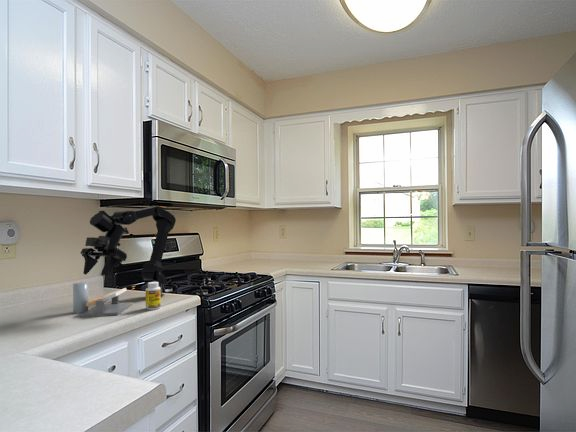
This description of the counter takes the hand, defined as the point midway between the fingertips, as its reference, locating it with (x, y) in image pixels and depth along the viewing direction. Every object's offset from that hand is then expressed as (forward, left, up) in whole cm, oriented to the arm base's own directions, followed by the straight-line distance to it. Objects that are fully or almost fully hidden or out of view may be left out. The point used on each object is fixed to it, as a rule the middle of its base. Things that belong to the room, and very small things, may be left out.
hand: (93, 274), depth 126 cm
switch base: (-5, +3, -15) cm, 16 cm away
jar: (-5, -7, -15) cm, 17 cm away
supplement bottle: (-5, +20, -15) cm, 26 cm away
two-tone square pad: (-5, +3, -10) cm, 12 cm away
